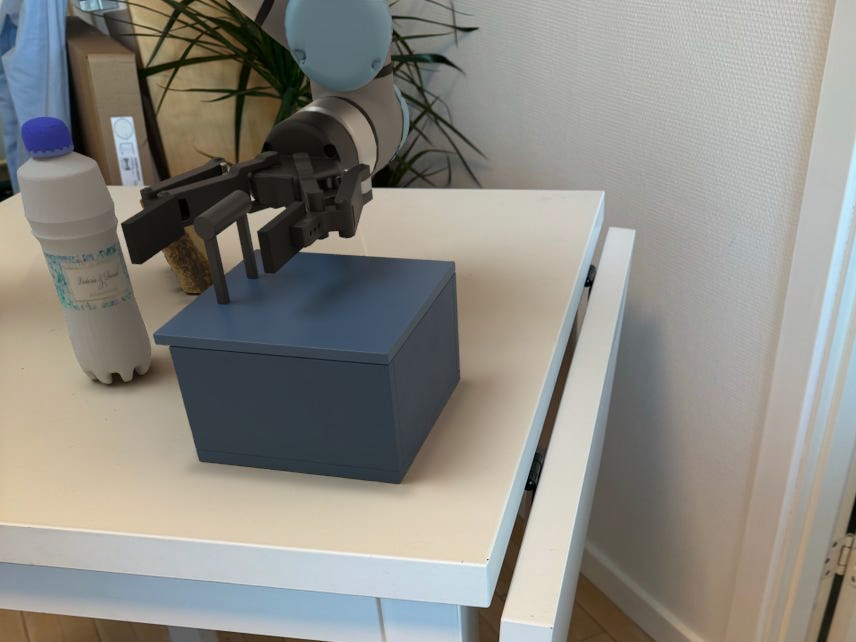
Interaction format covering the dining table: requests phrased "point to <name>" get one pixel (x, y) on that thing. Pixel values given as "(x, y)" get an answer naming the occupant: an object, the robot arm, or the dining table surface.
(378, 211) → the dining table surface
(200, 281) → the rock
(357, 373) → the blue-grey open box
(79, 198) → the bottle
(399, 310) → the lid
